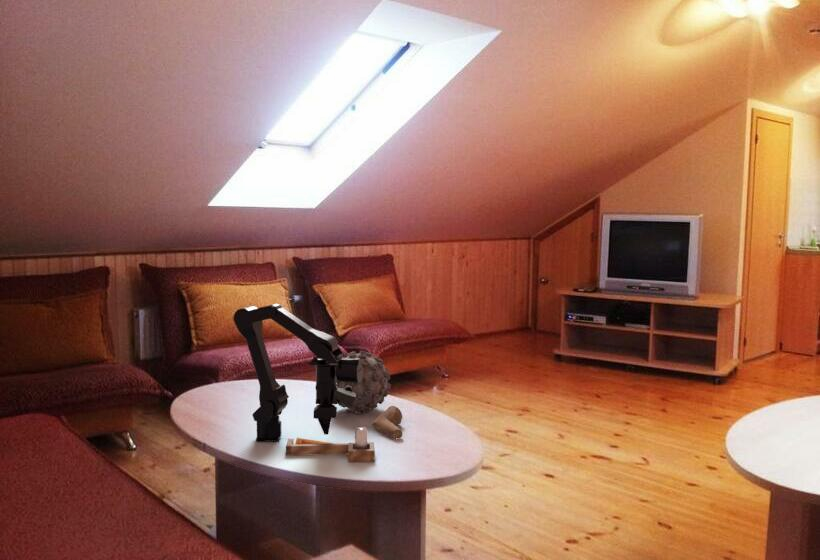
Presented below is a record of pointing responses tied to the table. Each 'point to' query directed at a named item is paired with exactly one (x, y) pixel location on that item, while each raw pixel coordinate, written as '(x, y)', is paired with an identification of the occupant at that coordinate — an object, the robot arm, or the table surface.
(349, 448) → the dock
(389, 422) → the pipe
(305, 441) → the chocolate bar
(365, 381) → the ornament
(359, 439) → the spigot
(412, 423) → the table surface
